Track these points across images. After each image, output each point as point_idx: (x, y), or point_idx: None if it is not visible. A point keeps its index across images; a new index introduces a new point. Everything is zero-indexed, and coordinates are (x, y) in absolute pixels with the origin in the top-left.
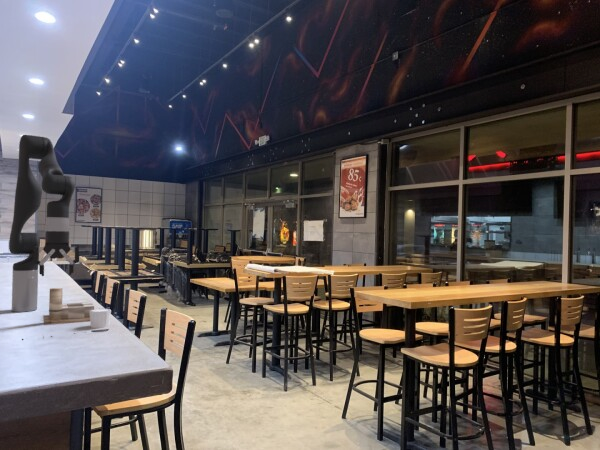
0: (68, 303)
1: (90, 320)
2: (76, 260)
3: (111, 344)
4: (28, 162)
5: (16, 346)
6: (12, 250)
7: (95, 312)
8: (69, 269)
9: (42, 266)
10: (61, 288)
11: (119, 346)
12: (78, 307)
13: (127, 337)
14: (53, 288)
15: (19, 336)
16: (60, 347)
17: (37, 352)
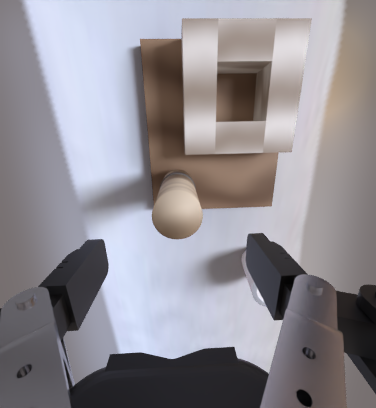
0: (225, 22)
1: (246, 276)
2: (360, 360)
3: (250, 347)
4: None
5: (124, 314)
6: None
7: (260, 304)
8: (259, 289)
9: (69, 324)
10: (198, 219)
11: (256, 358)
12: (244, 152)
13: (282, 321)
14: (166, 206)
15: (115, 250)
16: (185, 339)
17: (156, 351)
